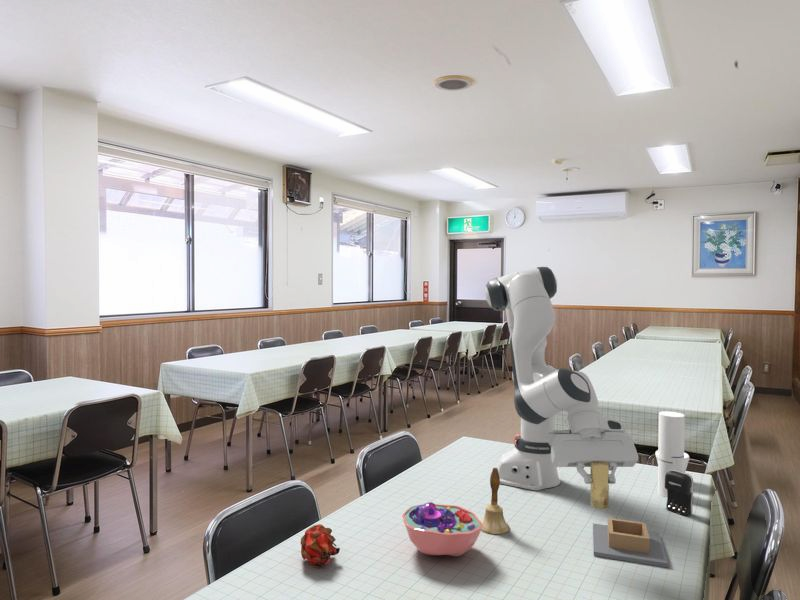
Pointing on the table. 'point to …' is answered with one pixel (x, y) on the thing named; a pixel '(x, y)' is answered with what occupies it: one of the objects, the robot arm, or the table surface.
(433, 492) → the table surface
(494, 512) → the hand bell
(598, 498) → the brass tube
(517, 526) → the table surface
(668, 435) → the cylindrical container
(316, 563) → the dragon fruit
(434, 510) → the cell model
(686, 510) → the battery charger
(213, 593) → the table surface
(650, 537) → the plate
